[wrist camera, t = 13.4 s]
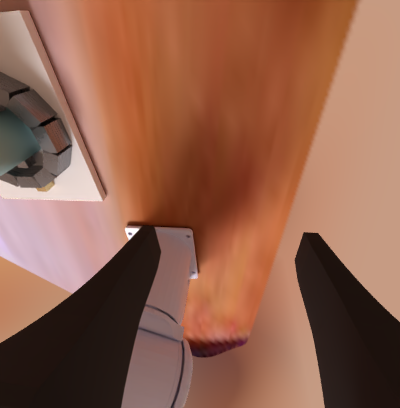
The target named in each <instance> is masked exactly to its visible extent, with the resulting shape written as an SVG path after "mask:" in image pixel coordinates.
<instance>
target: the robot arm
mask: <svg viewBox="0 0 400 408" xmlns="http://www.w3.org/2000/svg"><path fill="white" fill-rule="evenodd" d="M125 232H126V234H127V237H128V239H129V241H128V242H127V243H126V244H125V245H124V246H123V248H122V249H121V250H120V251H119V252H118V253H117V254H116V255H115V256H114V257H113V258H112V259H111V260H110V261H109V262H108V263H107V264H106V265H105V266H104V267H103V268H102V269H101V270H100V271H99V272H98V273H97V274H95V275H94V276H93V277H92V278H91V279H90V280H89V281H88V282H86V283H85V284H84V285H83V286H82V287H81V288H79V289H78V290H77V291H76V292H74V293H73V294H72V295H71V296H69V297H68V298H67V299H66V300H64V301H63V302H61V303H60V304H59V305H58V306H56V307H55V308H54V309H52V310H51V311H49V312H48V313H46V314H45V315H44V316H42V317H41V318H39V319H38V320H37V321H35V322H33V323H32V324H30V325H29V326H27V327H26V328H24V329H23V330H21V331H19V332H18V333H16V334H15V335H13V336H12V337H10V338H8V339H6V340H5V341H3V342H1V343H0V408H183V407H184V405H185V402H186V400H187V396H188V393H189V389H190V383H191V377H192V366H193V362H192V354H191V350H190V346H189V343H188V342H187V340H185V339H184V338H183V332H184V327H183V326H180V325H181V323H182V320H183V317H184V311H185V305H186V300H187V294H188V289H189V283H190V278H193V279H196V278H198V270H197V262H196V254H195V246H194V238H193V231H192V230H191V229H189V228H171V227H154V226H144V225H143V226H126V228H125ZM130 232H131V233H130ZM188 235H189V236H188ZM295 264H296V272H297V278H298V283H299V287H300V290H301V294H302V298H303V301H304V305H305V308H306V312H307V316H308V319H309V323H310V326H311V330H312V334H313V338H314V343H315V349H316V354H317V360H318V366H319V372H320V378H321V384H322V391H323V397H324V405H325V408H400V322H399V321H398V320H397V319H396V318H394V317H393V316H392V315H391V314H390V313H389V312H388V311H387V310H386V309H385V308H384V307H383V306H382V305H381V304H380V303H379V302H378V301H377V300H376V299H375V298H373V296H372V295H371V294H370V293H369V292H368V291H367V290H366V289H365V288H364V287H363V286H362V284H361V283H360V282H359V281H357V279H356V278H355V277H354V276H353V275H352V273H351V272H350V271H349V270H348V269H347V268H346V267H345V266H344V264H343V263H342V262H341V261H340V259H339V258H338V257H337V256H336V255H335V253H334V252H333V251H332V250H331V249H330V247H329V246H328V245H327V244H326V242H325V241H324V240H323V239H322V237H321V236H320V235H319V234H318V233H305V232H304V233H303V236H302V239H301V242H300V246H299V249H298V251H297V255H296V258H295Z"/></svg>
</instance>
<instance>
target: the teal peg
mask: <svg viewBox="0 0 400 408" xmlns="http://www.w3.org/2000/svg"><path fill="white" fill-rule="evenodd" d="M40 150H41V147H40V145H39V143H38V142H37V140H36V138H35V136H34V134H33V133H32V131H31V129H30V128H29V127H28V126H27V125H26V124H24V123H23V122H22V121H21V120H20V119H19V118H18V117H17V116H16V115H15V114H14V113H13V112H11V111H10V110H9V109H8V108H7V107H4V106H2V105H0V176H1V175H3V174H5V173H6V172H8V171H9V170H11V169H12V168H14V167H15V166H18V168H30V167H31V166H32V165H34V164H35V163H37V162H36V161H35V159H34V157H33V155H34V154H35V153H37V152H38V151H40Z"/></svg>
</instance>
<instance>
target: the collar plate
mask: <svg viewBox="0 0 400 408" xmlns="http://www.w3.org/2000/svg"><path fill="white" fill-rule="evenodd" d="M0 105H2V106H4V107H7V108H8V109H9V110H10V111H11V112H13V113H14V114H15V115H16V116H17V117H18V118H19V119H20V120H21V121H22V122H23V123H24V124H26V125H27V126H28V127H29V128H30V129H31V131H32V133H33V134H34V136H35V138H36V140H37V142H38V143H39V145H40V147H41V150H40V151H38V152H37V153H35V154H34V155H33V157H34V159H35V161H36V162H37V163H35V164H34V165H32V166H31V167H30V168H18V166H15V167H14V168H12V169H11V170H9V171H8V172H6V173H5V174H3V175H1V176H0V195H1V196H2V198H3V199H37V200H73V201H104V199H105V198H106V195H105V192H104V190H103V187H102V185H101V183H100V180H99V178H98V176H97V173H96V171H95V168H94V166H93V164H92V161H91V159H90V156H89V154H88V152H87V149H86V147H85V144H84V142H83V140H82V137H81V135H80V132H79V130H78V128H77V125H76V123H75V121H74V118H73V116H72V113H71V111H70V109H69V106H68V104H67V101H66V99H65V97H64V94H63V92H62V89H61V87H60V85H59V82H58V80H57V77H56V75H55V73H54V70H53V68H52V66H51V63H50V61H49V58H48V56H47V54H46V51H45V49H44V46H43V44H42V42H41V39H40V37H39V34H38V32H37V30H36V27H35V25H34V22H33V20H32V18H31V15H30V13H29V11H23V10H18V11H8V12H0Z"/></svg>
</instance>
